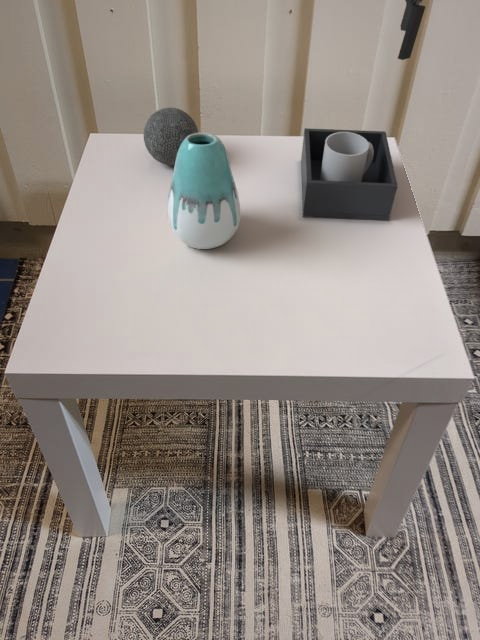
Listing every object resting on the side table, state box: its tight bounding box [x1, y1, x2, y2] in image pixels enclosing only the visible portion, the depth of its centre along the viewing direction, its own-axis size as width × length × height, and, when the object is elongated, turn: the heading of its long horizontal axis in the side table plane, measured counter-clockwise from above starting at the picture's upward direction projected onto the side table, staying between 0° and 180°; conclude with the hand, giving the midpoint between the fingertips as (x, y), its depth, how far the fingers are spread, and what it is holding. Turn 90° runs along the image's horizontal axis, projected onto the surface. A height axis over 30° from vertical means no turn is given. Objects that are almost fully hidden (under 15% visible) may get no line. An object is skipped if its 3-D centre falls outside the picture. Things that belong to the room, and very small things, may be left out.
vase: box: [166, 132, 242, 250], centre depth 86 cm, size 12×12×18 cm
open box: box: [300, 127, 398, 222], centre depth 99 cm, size 17×15×7 cm
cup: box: [320, 132, 374, 182], centre depth 97 cm, size 7×10×9 cm
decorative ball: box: [143, 107, 199, 166], centre depth 103 cm, size 10×10×10 cm
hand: (449, 72), depth 76 cm, fingers open, 13 cm apart
